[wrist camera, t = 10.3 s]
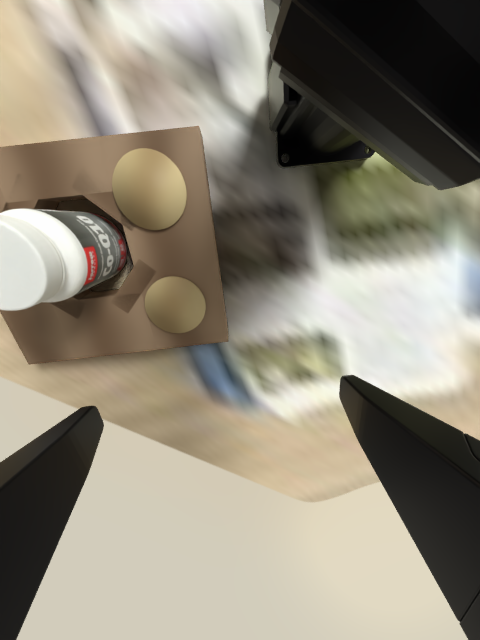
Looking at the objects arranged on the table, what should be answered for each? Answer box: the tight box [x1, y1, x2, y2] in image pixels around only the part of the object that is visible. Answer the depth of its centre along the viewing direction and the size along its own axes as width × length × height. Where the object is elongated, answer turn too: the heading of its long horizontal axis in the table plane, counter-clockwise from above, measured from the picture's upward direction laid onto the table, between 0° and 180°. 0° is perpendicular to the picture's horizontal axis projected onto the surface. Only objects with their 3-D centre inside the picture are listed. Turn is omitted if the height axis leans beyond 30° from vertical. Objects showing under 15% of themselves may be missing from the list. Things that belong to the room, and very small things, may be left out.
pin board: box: [0, 126, 228, 364], centre depth 17 cm, size 16×14×2 cm
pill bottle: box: [0, 209, 127, 311], centre depth 14 cm, size 5×5×8 cm
